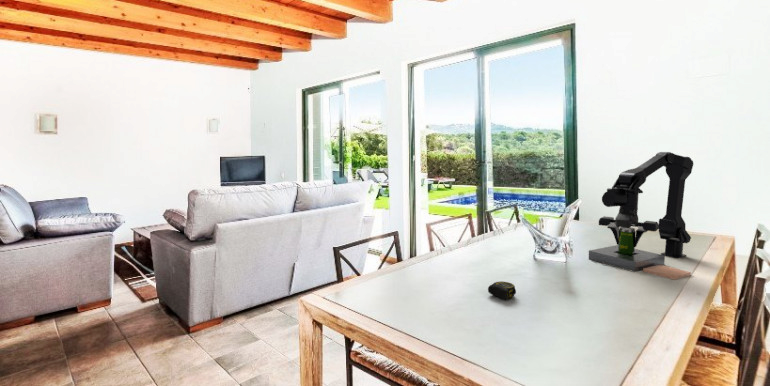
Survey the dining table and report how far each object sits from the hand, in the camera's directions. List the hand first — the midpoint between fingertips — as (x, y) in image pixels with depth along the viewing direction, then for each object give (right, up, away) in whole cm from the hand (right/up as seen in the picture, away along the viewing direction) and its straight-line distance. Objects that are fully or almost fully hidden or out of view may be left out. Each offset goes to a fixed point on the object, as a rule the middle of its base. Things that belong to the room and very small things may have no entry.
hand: (626, 245), depth 149 cm
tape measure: (-57, -11, -33) cm, 67 cm away
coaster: (+6, -8, -13) cm, 16 cm away
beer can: (0, -5, +1) cm, 5 cm away
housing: (0, -6, +1) cm, 6 cm away
